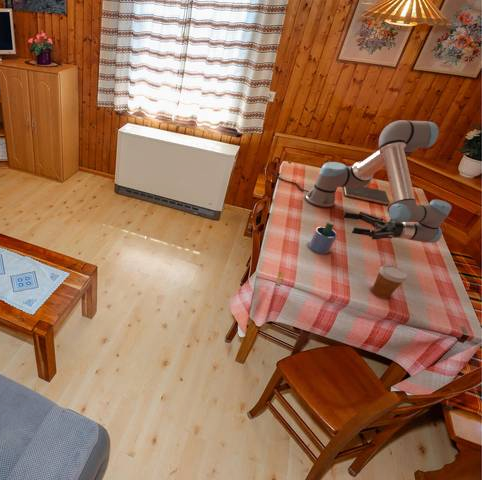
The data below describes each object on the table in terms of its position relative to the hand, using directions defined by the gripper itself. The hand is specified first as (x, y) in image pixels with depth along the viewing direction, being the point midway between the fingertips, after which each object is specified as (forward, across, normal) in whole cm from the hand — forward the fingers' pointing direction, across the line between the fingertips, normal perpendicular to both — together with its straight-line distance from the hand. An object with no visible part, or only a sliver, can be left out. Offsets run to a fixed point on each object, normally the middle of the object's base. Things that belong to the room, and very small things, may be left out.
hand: (348, 222), depth 172 cm
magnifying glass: (-30, +22, -16) cm, 41 cm away
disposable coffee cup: (-11, -28, -16) cm, 34 cm away
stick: (+7, 0, -16) cm, 17 cm away
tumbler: (+7, 0, -16) cm, 18 cm away
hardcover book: (-36, +69, -16) cm, 80 cm away
